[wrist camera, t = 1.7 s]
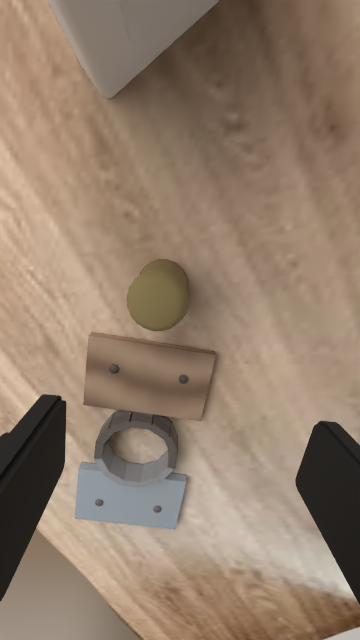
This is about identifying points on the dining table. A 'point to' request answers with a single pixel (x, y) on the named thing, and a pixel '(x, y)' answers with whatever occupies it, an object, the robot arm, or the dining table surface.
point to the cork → (159, 296)
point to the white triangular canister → (123, 34)
